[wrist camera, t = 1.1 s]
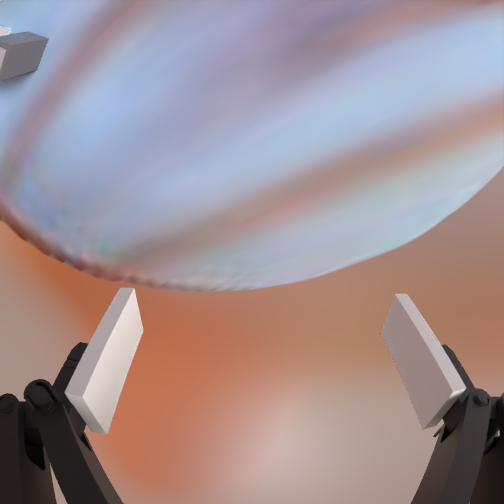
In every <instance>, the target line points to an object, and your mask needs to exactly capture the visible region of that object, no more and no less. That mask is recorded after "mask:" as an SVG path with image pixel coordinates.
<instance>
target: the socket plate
mask: <svg viewBox="0 0 504 504" xmlns="http://www.w3.org/2000/svg"><path fill="white" fill-rule="evenodd" d="M11 30H12V29H11V28H8V27H5V26H1V25H0V36H5V35H10V33H11Z"/></svg>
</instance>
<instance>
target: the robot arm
mask: <svg viewBox="0 0 504 504" xmlns="http://www.w3.org/2000/svg"><path fill="white" fill-rule="evenodd" d="M142 333H143V326H142V322H141V317H140V313H139V308H138V304H137V299H136V294H135V289H134V288H122V287H121V288H120V289H119V291H118V292H117V294H116V296H115V297H114V299H113V301H112V303H111V304H110V306H109V308H108V310H107V311H106V313H105V315H104V317H103V319H102V320H101V322H100V324H99V326H98V327H97V329H96V331H95V333H94V335H93V337H92V339H91V340H90V342H89V344H87V343H82V342H80V343H78V344H77V345H76V346H75V347H74V348H73V349H72V350H71V352H70V354H69V355H68V357H67V360H66V361H65V363H64V365H63V367H62V368H61V370H60V372H59V374H58V376H57V378H56V380H55V382H54V384H53V386H52V385H51V384H50V383H49V382H48V381H46V380H43V379H38V380H34V381H32V382H31V383H29V384H28V386H27V387H26V388H25V391H24V399H25V400H26V401H27V402H22V401H19V400H18V399H17V398H16V397H15V396H14V395H13V394H8V393H7V394H3V395H2V396H0V504H57V503H56V499H55V493H54V488H53V482H52V476H51V469H50V463H51V467H52V469H53V472H54V474H55V476H56V479H57V481H58V484H59V486H60V488H61V491H62V493H63V494H64V497H65V499H66V501H67V503H68V504H123V502H122V501H121V499H120V497H119V496H118V494H117V492H116V491H115V489H114V487H113V486H112V484H111V482H110V481H109V479H108V477H107V475H106V474H105V472H104V470H103V468H102V466H101V464H100V462H99V460H98V459H97V457H96V455H95V453H94V451H93V449H92V447H91V445H90V442H89V440H88V438H87V436H86V434H85V433H84V429H85V426H86V425H87V426H88V428H89V429H90V430H91V431H93V432H97V433H100V434H105V435H107V434H108V431H109V428H110V425H111V421H112V418H113V415H114V412H115V409H116V406H117V403H118V399H119V397H120V394H121V391H122V388H123V385H124V382H125V379H126V376H127V374H128V371H129V368H130V365H131V362H132V359H133V357H134V354H135V351H136V349H137V346H138V343H139V341H140V338H141V336H142ZM380 334H381V335H382V338H383V340H384V342H385V344H386V346H387V348H388V350H389V352H390V354H391V357H392V359H393V361H394V363H395V365H396V368H397V370H398V372H399V374H400V376H401V379H402V381H403V383H404V385H405V388H406V390H407V392H408V395H409V397H410V399H411V402H412V404H413V406H414V409H415V411H416V414H417V416H418V419H419V421H420V423H421V426H422V429H426V428H430V427H433V426H436V425H437V424H438V423H439V421H440V420H441V419H442V418H443V420H444V424H443V426H442V427H441V428H440V429H439V430H438V431H437V432H436V433H435V435H434V437H436V436H437V435H438V434H439V433H440V434H439V437H438V440H437V443H436V445H435V448H434V451H433V454H432V456H431V459H430V462H429V464H428V467H427V469H426V472H425V474H424V476H423V479H422V481H421V483H420V485H419V488H418V490H417V492H416V494H415V496H414V498H413V500H412V502H411V504H469V502H470V504H504V393H503V394H502V395H501V396H500V397H490V396H489V395H488V394H487V392H486V391H484V390H482V389H478V388H477V389H475V387H474V386H473V384H472V382H471V381H470V379H469V377H468V375H467V374H466V372H465V370H464V368H463V367H461V364H460V362H459V361H458V360H457V357H456V355H455V354H454V352H453V351H452V350H451V349H450V348H449V347H448V346H446V345H441V344H440V343H439V341H438V340H437V338H436V336H435V335H434V333H433V332H432V330H431V329H430V327H429V326H428V324H427V323H426V321H425V320H424V318H423V317H422V315H421V314H420V312H419V311H418V309H417V308H416V306H415V305H414V303H413V302H412V301H411V299H410V298H409V296H408V295H407V294H395V295H394V298H393V301H392V304H391V307H390V310H389V312H388V315H387V318H386V321H385V323H384V326H383V328H382V331H381V333H380ZM499 430H500V436H499V437H498V434H497V432H498V431H499ZM49 461H50V462H49Z"/></svg>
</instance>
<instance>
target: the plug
mask: <svg viewBox="0 0 504 504" xmlns="http://www.w3.org/2000/svg"><path fill="white" fill-rule="evenodd" d="M47 42H48V38H45V37H42V36H39V35H36V34H33V33H30V32H23V33H16V34H10V35H5V36H0V82H1V81H4V80H7V79H10V78H12V77H15V76H18V75H21V74H25V73H28V72H31V71H34V70H37V69H38V66H39V63H40V60H41V57H42V55H43V52H44V49H45V47H46V44H47Z"/></svg>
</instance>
